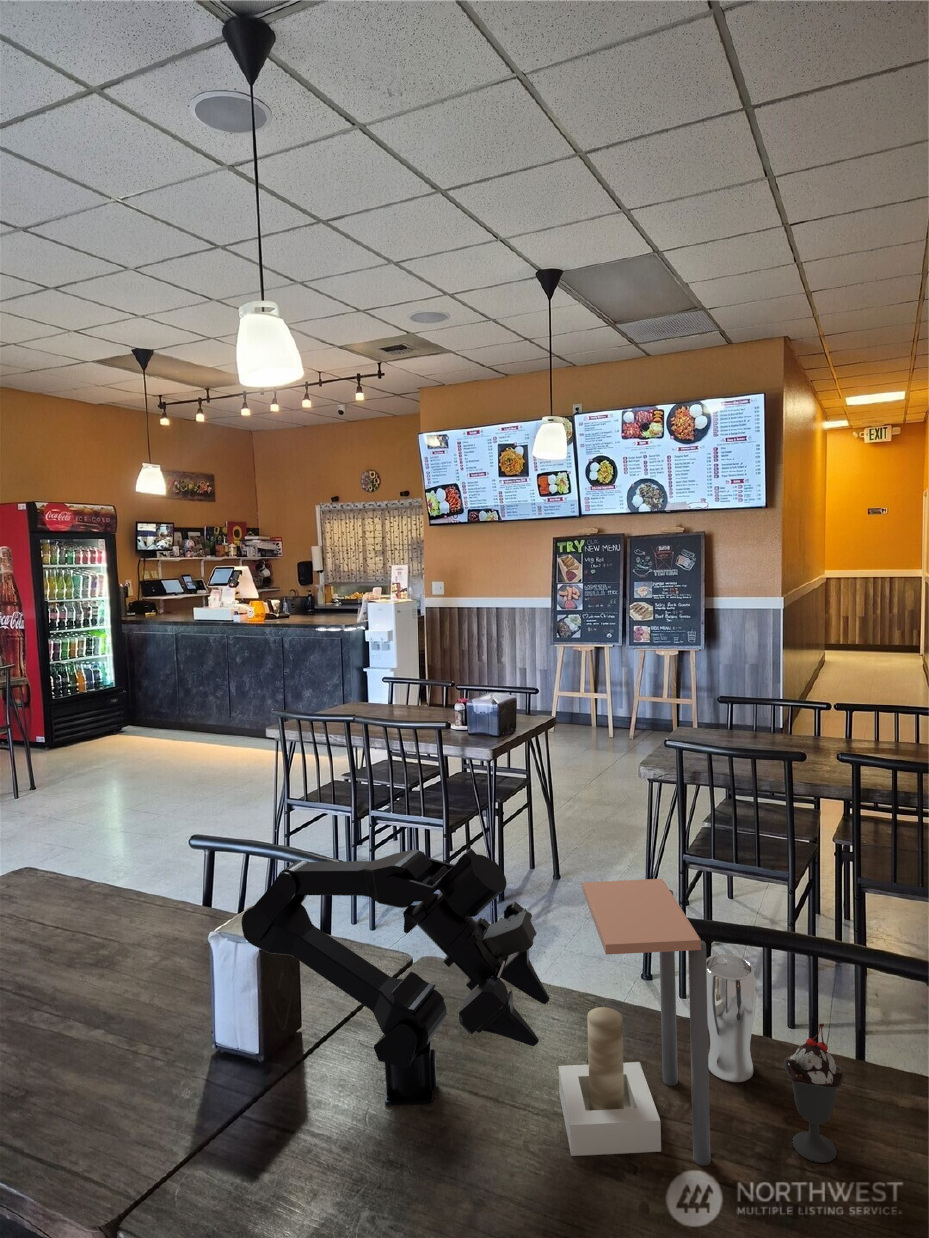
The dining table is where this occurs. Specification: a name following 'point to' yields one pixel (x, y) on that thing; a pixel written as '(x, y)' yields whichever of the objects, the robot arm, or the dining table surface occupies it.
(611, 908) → the table parts
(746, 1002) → the beer glass
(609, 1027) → the dowel
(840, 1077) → the sundae
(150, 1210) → the dining table surface
